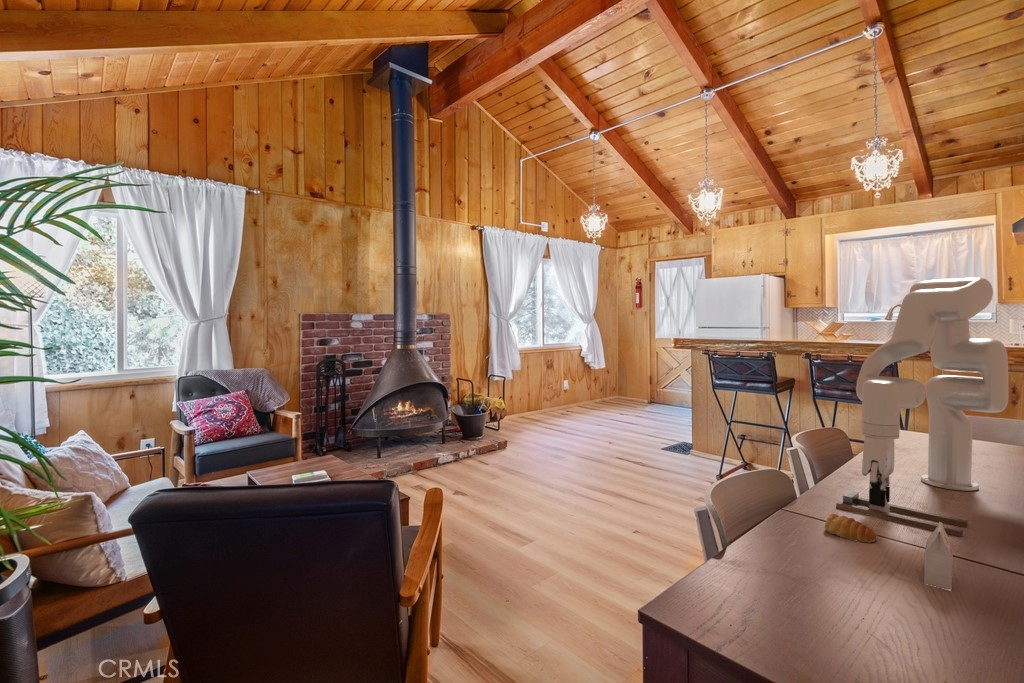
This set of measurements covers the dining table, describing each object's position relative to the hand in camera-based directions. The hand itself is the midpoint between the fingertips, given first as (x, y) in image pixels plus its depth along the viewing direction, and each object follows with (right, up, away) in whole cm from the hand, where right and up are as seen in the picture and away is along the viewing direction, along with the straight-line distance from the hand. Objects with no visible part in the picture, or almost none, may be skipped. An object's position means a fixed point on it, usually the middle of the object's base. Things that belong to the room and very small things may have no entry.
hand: (879, 502), depth 125 cm
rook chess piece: (0, -2, 0) cm, 2 cm away
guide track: (+3, -2, -3) cm, 5 cm away
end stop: (-4, -2, +4) cm, 6 cm away
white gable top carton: (-14, -4, -33) cm, 36 cm away
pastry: (-16, -3, -13) cm, 21 cm away
